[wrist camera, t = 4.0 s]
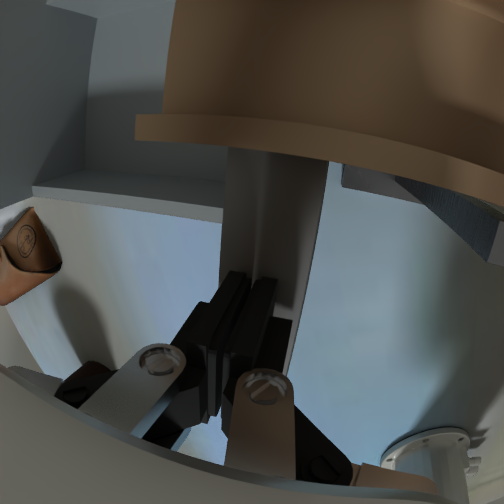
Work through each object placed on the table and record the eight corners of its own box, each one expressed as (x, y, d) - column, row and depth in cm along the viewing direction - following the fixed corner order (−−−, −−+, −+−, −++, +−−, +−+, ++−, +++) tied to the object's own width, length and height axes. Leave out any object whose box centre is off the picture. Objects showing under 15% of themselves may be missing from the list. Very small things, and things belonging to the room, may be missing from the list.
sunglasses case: (32, 199, 27) (6, 245, 23) (74, 236, 32) (56, 283, 28) (-13, 253, 34) (-30, 289, 29) (19, 278, 38) (6, 314, 34)
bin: (300, -8, 15) (269, -112, 5) (277, 198, 22) (227, 273, 11) (96, 14, 18) (-8, -10, 8) (83, 176, 25) (-24, 216, 14)
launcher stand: (464, 51, 14) (590, -1, 1) (444, 207, 19) (561, 312, 6) (359, 20, 16) (394, -108, 3) (341, 184, 20) (366, 279, 8)
